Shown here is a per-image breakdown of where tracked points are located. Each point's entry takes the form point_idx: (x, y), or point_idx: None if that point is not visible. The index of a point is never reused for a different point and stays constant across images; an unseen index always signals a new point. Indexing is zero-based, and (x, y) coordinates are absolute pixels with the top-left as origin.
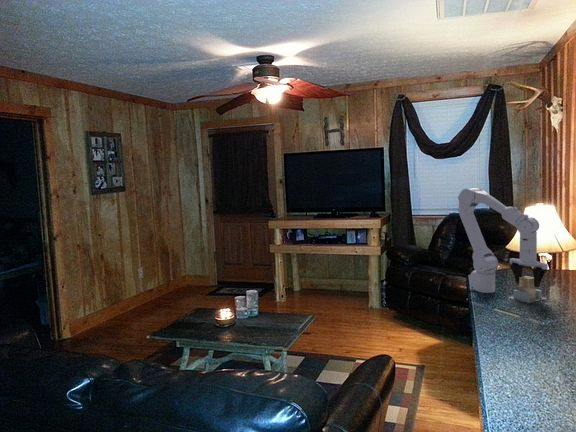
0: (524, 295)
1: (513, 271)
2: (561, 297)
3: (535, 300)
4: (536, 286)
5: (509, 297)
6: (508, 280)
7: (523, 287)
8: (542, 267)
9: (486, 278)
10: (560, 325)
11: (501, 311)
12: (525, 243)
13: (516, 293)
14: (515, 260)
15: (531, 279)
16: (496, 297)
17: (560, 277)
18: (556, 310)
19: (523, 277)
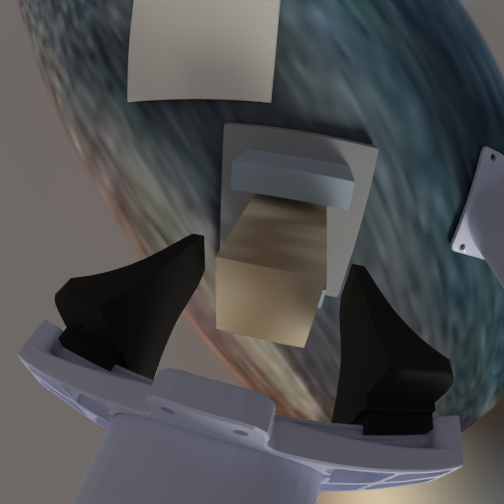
0: (261, 159)
1: (402, 328)
2: (229, 339)
3: (229, 198)
4: (187, 237)
5: (367, 153)
6: (439, 401)
7: (289, 222)
8: (45, 336)
9: None
10: (47, 31)
11: None
12: None
13: (326, 170)
14: (387, 465)
15: (218, 281)
16: (443, 167)
17: None
18: (124, 161)
19: (290, 288)
